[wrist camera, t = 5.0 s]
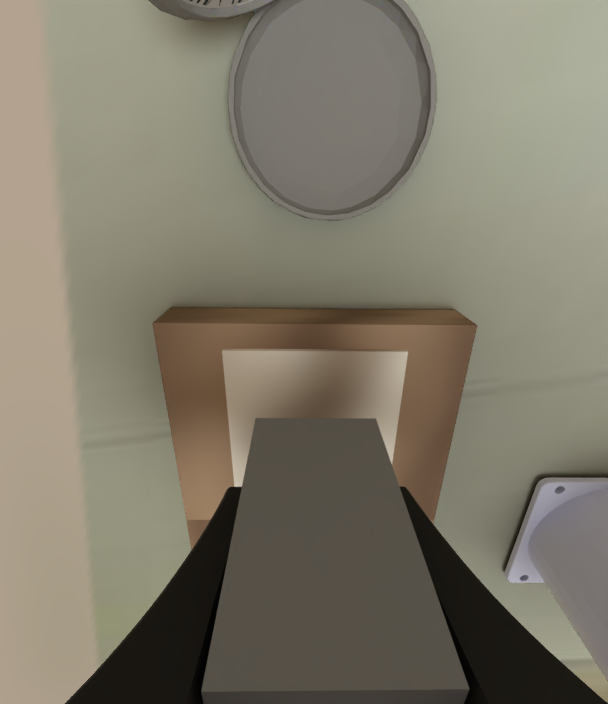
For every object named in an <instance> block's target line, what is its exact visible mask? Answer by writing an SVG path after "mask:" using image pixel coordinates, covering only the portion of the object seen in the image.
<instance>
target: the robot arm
mask: <svg viewBox="0 0 608 704" xmlns="http://www.w3.org/2000/svg"><path fill="white" fill-rule="evenodd" d="M241 489H242V487H229V488H228V489H227V490H226V492H225V494H224V496H223V498H222V500H221V502H220V504H219V506H218V508H217V510H216V511H215V513H214V515H213V517H212V518H211V520H210V522H209V523H208V525H207V527H206V528H205V530H204V532H203V533H202V535H201V536H200V538H199V539H198V541H197V543H196V544H195V546H194V547H193V549H192V551H191V552H190V554H189V555H188V557H187V558H186V559H185V561H184V562H183V564H182V565H181V567H180V568H179V569H178V571H177V572H176V574H175V575H174V576H173V578H172V579H171V581H170V582H169V584H168V585H167V586H166V588H165V589H164V590H163V592H162V593H161V594H160V596H159V597H158V598H157V600H156V601H155V602H154V603H153V605H152V606H151V607H150V609H149V610H148V611H147V612H146V613H145V615H144V616H143V617H142V618H141V620H140V621H139V622H138V623H137V625H136V626H135V627H134V628H133V629H132V631H131V632H130V633H129V634H128V635H127V636H126V638H125V639H124V640H123V641H122V642H121V643H120V645H119V646H118V647H117V648H116V649H115V650H114V652H113V653H112V654H111V655H110V656H109V657H108V658H107V659H106V661H105V662H104V663H103V664H102V665H101V666H100V667H99V668H98V669H97V671H96V672H95V673H94V674H93V675H92V676H91V677H90V678H89V679H88V680H87V681H86V682H85V683H84V684H83V685H82V686H81V688H80V689H79V690H78V691H77V692H76V693H75V694H74V695H73V696H72V697H71V698H70V699H69V700H68V701H67V702H66V703H65V704H204V703H203V698H202V693H201V690H202V685H203V680H204V675H205V670H206V665H207V660H208V655H209V650H210V645H211V640H212V635H213V630H214V625H215V620H216V615H217V610H218V605H219V600H220V595H221V590H222V585H223V580H224V574H225V569H226V564H227V559H228V554H229V549H230V544H231V539H232V534H233V529H234V524H235V519H236V514H237V509H238V504H239V499H240V494H241ZM400 490H401V493H402V496H403V498H404V501H405V504H406V507H407V510H408V513H409V516H410V519H411V522H412V524H413V527H414V530H415V533H416V536H417V539H418V542H419V545H420V548H421V550H422V553H423V556H424V559H425V562H426V565H427V568H428V571H429V574H430V576H431V579H432V582H433V585H434V588H435V591H436V594H437V597H438V600H439V602H440V605H441V608H442V611H443V614H444V617H445V620H446V623H447V626H448V628H449V631H450V634H451V637H452V640H453V643H454V646H455V649H456V652H457V654H458V657H459V660H460V663H461V666H462V669H463V672H464V675H465V678H466V681H467V683H468V686H469V692H468V694H467V697H466V699H465V702H464V704H608V703H607V702H605V701H604V700H603V699H602V698H601V697H599V696H598V695H597V694H596V693H595V692H594V691H593V690H592V689H590V688H589V687H588V686H587V685H586V684H585V683H584V682H583V681H582V680H580V679H579V678H578V677H577V676H576V675H575V674H574V673H573V672H571V671H570V670H569V669H568V668H567V667H566V666H565V665H564V664H563V663H561V662H560V661H559V660H558V659H557V658H556V657H555V656H554V655H553V654H551V653H550V652H549V651H548V650H547V649H546V648H545V647H544V646H543V645H542V644H541V643H540V642H539V641H538V640H537V639H536V638H535V637H534V636H533V635H531V634H530V633H529V632H528V631H527V630H526V629H525V628H524V627H523V626H522V625H521V624H520V623H519V622H518V621H517V620H516V619H515V618H514V617H513V616H512V615H511V614H510V613H509V612H508V611H507V610H506V609H505V608H504V606H503V605H502V604H501V603H500V602H499V601H498V600H497V599H496V598H495V597H494V596H493V595H492V594H491V593H490V592H489V590H488V589H487V588H486V587H485V586H484V585H483V584H482V583H481V582H480V580H479V579H478V578H477V577H476V576H475V575H474V574H473V572H472V571H471V570H470V569H469V568H468V567H467V566H466V564H465V563H464V562H463V561H462V560H461V558H460V557H459V556H458V555H457V554H456V552H455V551H454V550H453V549H452V547H451V546H450V545H449V544H448V542H447V541H446V540H445V539H444V537H443V536H442V535H441V534H440V532H439V531H438V530H437V528H436V527H435V526H434V525H433V523H432V522H431V521H430V519H429V518H428V517H427V515H426V514H425V513H424V511H423V510H422V508H421V507H420V506H419V504H418V503H417V502H416V500H415V499H414V497H413V496H412V494H411V493H410V492H409V490H408V489H407V488H406V487H400ZM504 575H505V576H506V578H507V580H508V581H509V582H511V583H545V584H546V585H547V587H548V588H549V590H550V592H551V593H552V595H553V596H554V598H555V599H556V601H557V603H558V604H559V606H560V607H561V609H562V610H563V612H564V614H565V615H566V617H567V618H568V620H569V621H570V623H571V625H572V626H573V628H574V629H575V631H576V632H577V634H578V636H579V637H580V639H581V640H582V642H583V643H584V645H585V647H586V648H587V650H588V651H589V653H590V654H591V656H592V658H593V659H594V661H595V662H596V664H597V665H598V667H599V668H600V670H601V672H602V673H603V675H604V676H605V678H606V679H607V681H608V478H544V479H541V480H540V481H539V482H538V483H537V485H536V488H535V491H534V493H533V496H532V499H531V502H530V504H529V507H528V510H527V512H526V515H525V518H524V521H523V523H522V526H521V529H520V532H519V534H518V537H517V540H516V543H515V545H514V548H513V551H512V553H511V556H510V559H509V562H508V564H507V567H506V570H505V574H504Z"/></svg>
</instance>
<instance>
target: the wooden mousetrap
mask: <svg viewBox="0 0 608 704" xmlns="http://www.w3.org/2000/svg"><path fill="white" fill-rule="evenodd" d="M476 328H477V325H476V324H474V323H473V322H472V321H470V320H469V319H467V318H466V317H465V316H463V315H462V314H461V313H459V312H458V311H456V310H426V309H293V308H170V309H169V310H168V311H166V312H165V313H164V314H163V315H162V316H160V317H159V318H158V319H157V320H156V321H154V322H153V329H154V335H155V340H156V346H157V352H158V358H159V364H160V369H161V375H162V381H163V387H164V393H165V398H166V404H167V410H168V416H169V421H170V427H171V433H172V439H173V445H174V450H175V456H176V462H177V468H178V474H179V479H180V485H181V491H182V497H183V502H184V508H185V514H186V520H187V526H188V531H189V537H190V543H191V549H193V547H194V546H195V544H196V543H197V541H198V539H199V538H200V536H201V535H202V533H203V532H204V530H205V528H206V527H207V525H208V523H209V522H210V520H211V518H212V517H213V515H214V513H215V511H216V510H217V508H218V506H219V504H220V502H221V500H222V498H223V496H224V494H225V492H226V490H227V489H228V488H229V487H242V484H243V479H244V474H245V469H246V464H247V459H248V454H249V449H250V444H251V439H252V434H253V429H254V424H255V419H256V418H376V420H377V423H378V426H379V429H380V432H381V435H382V438H383V441H384V443H385V446H386V449H387V452H388V455H389V458H390V461H391V464H392V467H393V470H394V472H395V475H396V478H397V481H398V484H399V487H406V488H407V489H408V490H409V492H410V493H411V494H412V496H413V497H414V499H415V500H416V502H417V503H418V504H419V506H420V507H421V508H422V510H423V511H424V513H425V514H426V515H427V517H428V518H429V519H430V521H431V522H432V523H433V522H434V517H435V513H436V508H437V504H438V499H439V495H440V490H441V486H442V481H443V477H444V472H445V468H446V463H447V459H448V454H449V450H450V445H451V441H452V436H453V432H454V427H455V423H456V418H457V414H458V409H459V405H460V400H461V396H462V391H463V387H464V382H465V378H466V373H467V369H468V364H469V360H470V355H471V351H472V346H473V342H474V337H475V333H476Z"/></svg>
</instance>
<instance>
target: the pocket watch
mask: <svg viewBox="0 0 608 704" xmlns="http://www.w3.org/2000/svg"><path fill="white" fill-rule="evenodd" d="M149 1H150V2H151V3H152V4H153V5H155V6H156V7H157V8H158V9H159V10H161V11H163V12H166V13H169V14H171V15H174V16H177V17H180V18H182V19H185V20H190V19H194V20H205V21H215V20H222V19H228V18H233V17H236V16H239V15H242V14H245V13H248V12H251V11H253V12H254V13H255V12H256V13H255V15H254V16H253V17H252V18H251V20H250V21H249V23H248V25H247V27H246V29H245V32H244V34H243V36H242V38H241V40H240V43H239V45H238V47H237V49H236V51H235V54H234V58H233V63H232V67H231V72H230V78H229V91H228V107H229V117H230V128H231V132H232V135H233V138H234V141H235V144H236V147H237V150H238V153H239V156H240V158H241V160H242V162H243V164H244V166H245V168H246V170H247V171H248V173H249V174H250V175H251V177H252V178H253V179H254V181H255V182H256V183H257V185H258V186H259V187H260V189H261V190H262V191H263V192H264V193H265V194H266V195H267V196H268V197H269V198H270V199H271V200H273V201H274V202H276V203H277V204H279V205H281V206H283V207H284V208H286V209H288V210H289V211H291V212H293V213H295V214H297V215H300V216H302V217H305V218H311V219H318V220H328V221H335V220H343V219H347V218H351V217H354V216H358V215H360V214H363V213H365V212H367V211H369V210H372V209H374V208H375V207H377V206H378V205H380V204H381V203H383V202H384V201H385V200H387V199H388V198H390V197H391V196H392V195H393V194H394V193H395V192H396V191H397V190H398V189H399V188H400V187H401V186H402V185H403V184H404V183H405V182H406V180H407V179H408V177H409V176H410V174H411V173H412V172H413V170H414V169H415V167H416V166H417V164H418V162H419V160H420V158H421V156H422V154H423V152H424V149H425V147H426V145H427V143H428V140H429V136H430V133H431V129H432V125H433V122H434V116H435V109H436V102H437V90H436V72H435V67H434V63H433V58H432V53H431V49H430V45H429V43H428V40H427V38H426V36H425V34H424V32H423V30H422V28H421V26H420V23H419V21H418V19H417V17H416V16H415V14H414V13H413V12H412V10H411V9H410V7H409V6H408V4H407V3H406V2H405V1H404V0H149Z"/></svg>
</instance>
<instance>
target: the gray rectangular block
mask: <svg viewBox="0 0 608 704" xmlns="http://www.w3.org/2000/svg"><path fill="white" fill-rule="evenodd" d="M468 692H469V686H468V683H467V681H466V678H465V675H464V672H463V669H462V666H461V663H460V660H459V657H458V654H457V652H456V649H455V646H454V643H453V640H452V637H451V634H450V631H449V628H448V626H447V623H446V620H445V617H444V614H443V611H442V608H441V605H440V602H439V600H438V597H437V594H436V591H435V588H434V585H433V582H432V579H431V576H430V574H429V571H428V568H427V565H426V562H425V559H424V556H423V553H422V550H421V548H420V545H419V542H418V539H417V536H416V533H415V530H414V527H413V524H412V522H411V519H410V516H409V513H408V510H407V507H406V504H405V501H404V498H403V496H402V493H401V490H400V487H399V484H398V481H397V478H396V475H395V472H394V470H393V467H392V464H391V461H390V458H389V455H388V452H387V449H386V446H385V443H384V441H383V438H382V435H381V432H380V429H379V426H378V423H377V420H376V418H256V419H255V424H254V429H253V434H252V439H251V444H250V449H249V454H248V459H247V464H246V469H245V474H244V479H243V484H242V489H241V494H240V499H239V504H238V509H237V514H236V519H235V524H234V529H233V534H232V539H231V544H230V549H229V554H228V559H227V564H226V569H225V574H224V580H223V585H222V590H221V595H220V600H219V605H218V610H217V615H216V620H215V625H214V630H213V635H212V640H211V645H210V650H209V655H208V660H207V665H206V670H205V675H204V680H203V685H202V690H201V693H202V698H203V703H204V704H464V702H465V699H466V697H467V694H468Z"/></svg>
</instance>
